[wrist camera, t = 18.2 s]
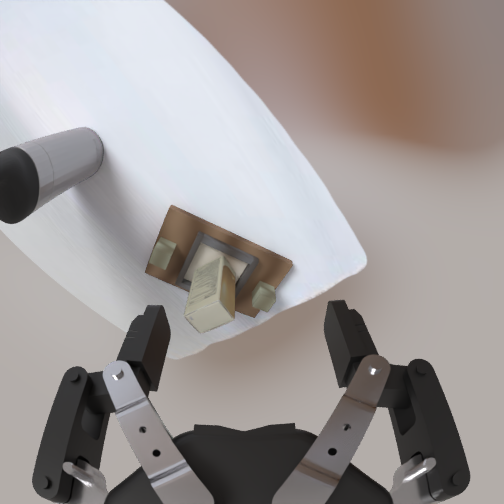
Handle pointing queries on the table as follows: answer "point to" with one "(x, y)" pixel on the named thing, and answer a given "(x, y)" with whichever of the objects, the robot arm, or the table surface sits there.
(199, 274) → the skincare box
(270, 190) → the table surface
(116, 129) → the table surface
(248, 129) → the table surface
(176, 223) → the build base
